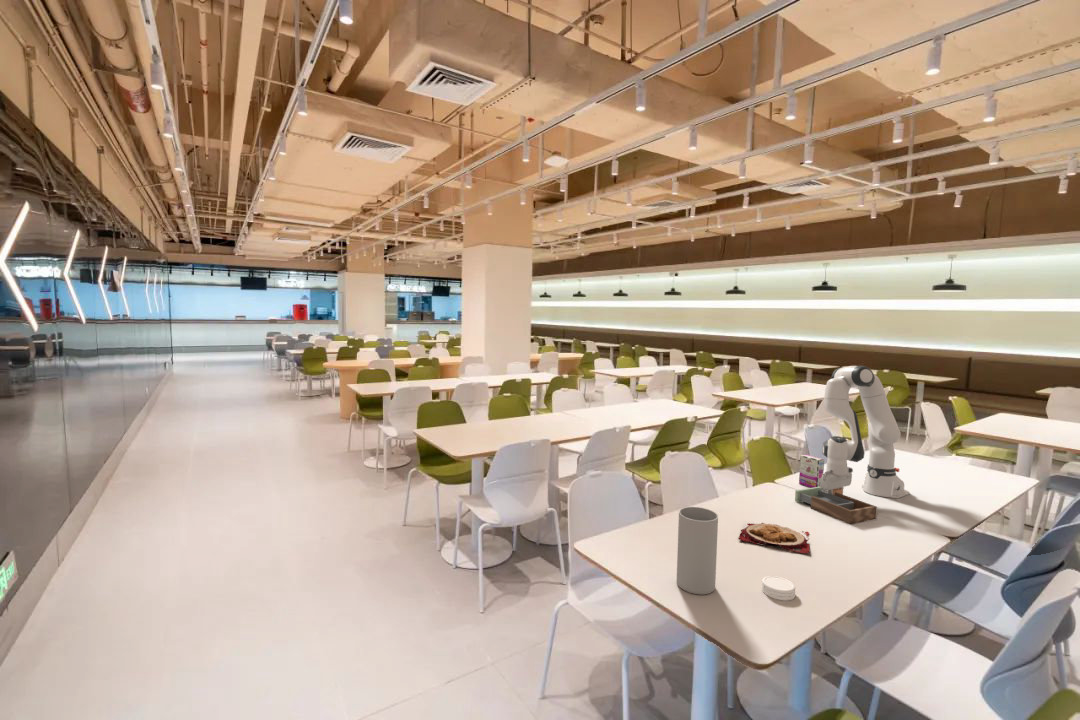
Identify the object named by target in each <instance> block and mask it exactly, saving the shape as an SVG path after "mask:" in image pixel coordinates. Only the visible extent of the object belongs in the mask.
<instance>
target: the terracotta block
mask: <svg viewBox="0 0 1080 720" xmlns="http://www.w3.org/2000/svg"><path fill="white" fill-rule="evenodd" d="M832 492H833V494H834V495H835V493H836V492H837V493H840V494H842V495H844V489H843V490H842V489H839V488H836V489H833V491H832Z"/></svg>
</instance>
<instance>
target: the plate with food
mask: <svg viewBox="0 0 1080 720" xmlns="http://www.w3.org/2000/svg"><path fill="white" fill-rule="evenodd" d="M740 531H741V532H740V533H739V536H738V537H737V539H738V540H739V541H743V542H745V543H747V542H748V543H752V545H760V546H761V545H762V546H766V547H770V548H773V549H774V547H773V546H771V545H769V544H772V545H773V544H774V545H777V546H780V548H778V547H777V548H778V550H782V551H786V552H789V553H801V554H809V553H810V551H811V550H810V543H809V540H810V538H809V537H810V536H809V535H810V532H809V531H803V530H802V531H801V533H800V532H798V531H796V530H793V529H791V528H789V527H786V526H781V525H780V524H779V525H778V524H774V523H773V524H771V523H764V522H761V523H749V522H748V523H747V526H746V527H744V528H742V529H740ZM802 533H803V534H802ZM804 535H805V536H804ZM807 542H808V543H807Z"/></svg>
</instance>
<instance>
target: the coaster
mask: <svg viewBox="0 0 1080 720" xmlns="http://www.w3.org/2000/svg"><path fill="white" fill-rule="evenodd" d="M761 591H762V592H763V593H764V594H765V596H768V597H769V598H771V599H773V600H777V601H791V600H793V599H795V597H796V586H795V584H794V583H793V582H792V581H790V580H789V579H786V578H784V577H781V576H776V575H767V576H765V577H763V578H762V579H761Z"/></svg>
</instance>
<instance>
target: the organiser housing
mask: <svg viewBox="0 0 1080 720" xmlns="http://www.w3.org/2000/svg"><path fill="white" fill-rule="evenodd" d="M835 496H838V497H841V498H843V499H846V500H849V501H852V502H854V510H849V509H846V508H843V507H841V506H838V505H836V504H833V503H830V502H828V501H825V500H822V499H820V498H817V497H814V496H812V498H811V504H810V509H811V510H814V511H816V512H819V513H821V514H823V515H826V516H829V517H831V518H833V519H836V520H837V521H838V520H839V521H841V522H843V523H845V524H847V525H848V524H849V525H853V524H854V525H855V524H859V523H865V522H870V521H875V520H877V509H878V506H876V505H874V504H870V503H867V502H866V501H863V500H860V499H856V498H853V497H851V496H848V495H845V494H843V495H842V494H840V493H837V492H836V493H835Z"/></svg>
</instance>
